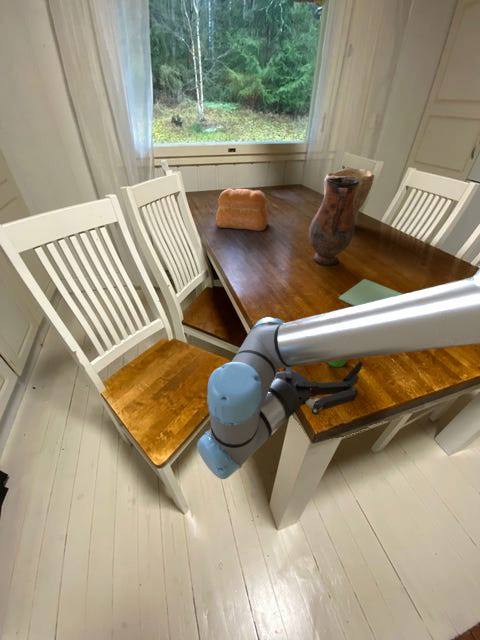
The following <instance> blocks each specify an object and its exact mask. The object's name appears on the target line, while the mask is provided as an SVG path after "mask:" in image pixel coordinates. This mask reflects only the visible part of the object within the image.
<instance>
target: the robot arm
mask: <svg viewBox="0 0 480 640" xmlns="http://www.w3.org/2000/svg"><path fill="white" fill-rule="evenodd" d="M470 345H471V346H472V345H480V268H479V269H478V270H477V271H476V273H475V274H473V276H471V277H467V278H464V279H460V280H455V281H451V282H447V283H443V284H439V285H435V286H431V287H426V288H422V289H419V290H414V291H411V292H407V293H402V295H398V296H393V297H389V298H385V299H381V300H377V301H373V302H369V303H365V304H361V305H357V306H353V305H352V306H348V307H345V308H342V309H341V308H340V309H337V310H332V311H329V312H325V313H321V314H316V315H311V316H307V317H303V318H299V319H296V320H291V321H288V322H285V321H284V320H282V319H280V318H275V317H271V316H266V317H263V318H261V319H259V320H258V321H257V322H256V323H255V324H254V326H253V327H252V328H251V329H250V330H249V332H248V334H247V335H246V337H245V339H244V341H243V342H242V344H241V346H240V347H239V349H238V351H237V352H236V354H235V355H234V357H233V359H232V360H231V361H230V362H226V363H224V364H223V365H221V366H219V367H216V369H214V370H213V371H212V372H211V374H210V376H209V378H208V381H207V396H206V401H207V403H206V404H207V408H208V415H209V421H210V429H208V430H207V431H205V433H204V434H203V435H202V436H201V437H200V438H199V439H198V441H197V443H196V448H197V451H198V453H199V456H200V458H201V459H202V461H203V463H204V464H205V465H206V467H207V468H208V469H209V471H210V472H211V473H212V474H213V475H214V476H215V477H217V478H218V479H219V480H226V479H229V478H230V477H231V476H232V475H233V474H234V473H235V472H237V471H238V470H240V469H241V468H242V466H243V465H244V464H245V463H246V462H247V461H248V460H249V459H250V458H251V457H252V456H253V455H254V454H255V453H256V452H257V450H259V449H260V448H261V446H262V445H263V444H265V442H267V441H268V439H270V437H271V436H272V435H274V433H275V432H276V431H278V429H280V428H281V426H283V424H285V422H286V421H287V420H289V419H290V418H291V417H292V416H293V415H294V414H295V412H296V411H298V410H299V409H300V408H301V407H302V406H303V405H307V406H308V407H309V408H310V409H311V413H312V415H314V416H318V415H319V414H320V413H321V412H323V411H324V410H327V409H330V408H335V407H337V406H338V407H339V406H341V405H345V404H348V403H351V402H354V401H356V398H357V396H358V394H359V390H358V389H357V388H355V385H356V384H357V383H358V381H359V378H360V376H359V375H358V374H359V373H360V372H361V369H362V367H363V365H364V362H362V361H359V362H357V364H356V365H355V366H354V367H353V368H352V369H351V370H350V371H349V372H348V373H347V374H346V375H345V376H344V377H343V380H342V381H326V382H325V381H323V382H318V381H316V380H312V381H311V380H309V379H308V378H307V377H305V376H303V375H302V374H301V373H299V371H297V370H295V371H294V370H293V369H292V368H293V367H299V366H300V367H301V366H308V365H317V364H325V363H327V362H334V361H342V360H347V361H350V360H357V359H365V358H373V357H381V356H390V355H398V354H399V355H400V354H405V353H413V352H421V351H429V350H438V349H446V348H454V347H463V346H470ZM280 369H283V371H279V370H280ZM278 371H279V372H278ZM324 395H325V396H324ZM316 396H323V397H320V398H319V397H316ZM314 397H315V398H314ZM312 398H313V399H312Z"/></svg>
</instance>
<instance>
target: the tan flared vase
mask: <svg viewBox="0 0 480 640" xmlns="http://www.w3.org/2000/svg"><path fill="white" fill-rule="evenodd" d="M337 177H345V178H348V179H354V180H358V181H359V184H357V187H356V191H355V195H354V200H353V216H354V218H355V217H356V216H357V213H358V212H359V210H360V209H361V208H362V207H363V206H364V204H365V202H366V200H367V198H368V196H369V194H370V192H371V188H372V187H373V184H374V181H375V174H373V172H372V171H370V170H368V169H363V168H360V169H359V168H352V167H351V168H350V167H349V168H344V169H340V170H337V171H334V172H331V173H327V174H326V176H325V178H324V180H323V195H324V196H325V192H326V186H327V181H326V180H327V179H328V178H337Z"/></svg>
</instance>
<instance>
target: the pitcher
mask: <svg viewBox="0 0 480 640" xmlns="http://www.w3.org/2000/svg"><path fill="white" fill-rule="evenodd" d="M326 181H327V186H326V192H325V196H324V197H323V199H322V203H321V205H320V206H319V208H318V210H317V212H316V214H315V215H314V217H313V218H312V219H311V223H310V225H309V228H308V241H309V242H310V245H311V248H313V250H314V251H315V252H316V253H314V254H313V256H312V259H313V261H314V262H315V263H317V264H319V265H322V266H332V265H336V264H337V263H338V257H337V256H338V255H339V254H341V253H342V252H343V251H345V249H347V248H348V247H349V246H350V244H351V241H352V240H353V237H354V235H355V217H354V216H353V200H354V195H355V191H356V187H357V184H359V181H358V180H354V179H348V178H345V177H337V178H328V179H327V180H326Z"/></svg>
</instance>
